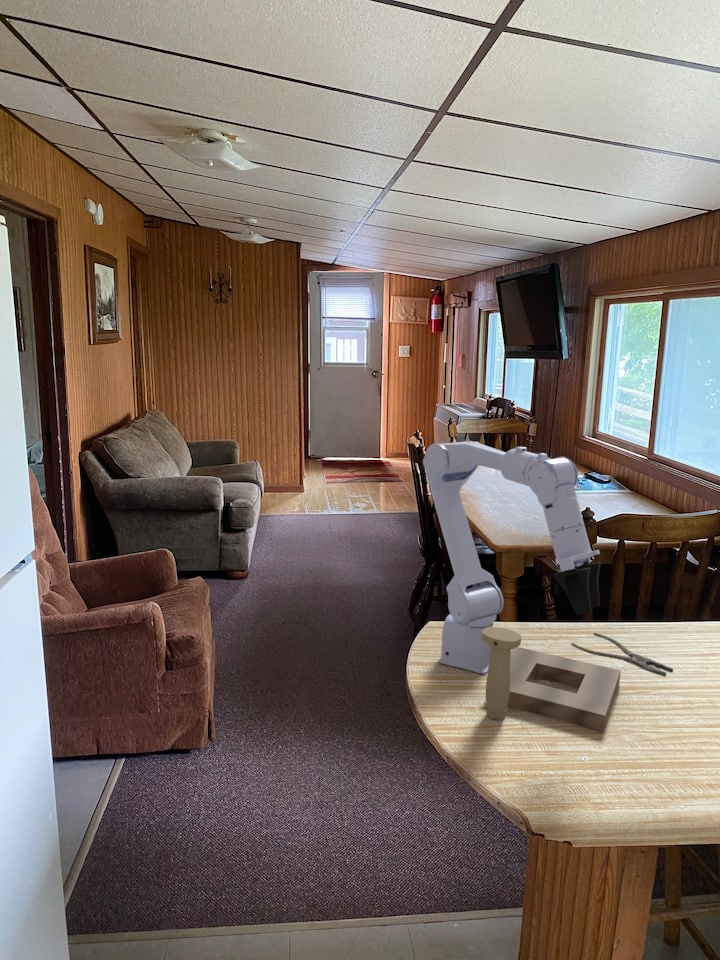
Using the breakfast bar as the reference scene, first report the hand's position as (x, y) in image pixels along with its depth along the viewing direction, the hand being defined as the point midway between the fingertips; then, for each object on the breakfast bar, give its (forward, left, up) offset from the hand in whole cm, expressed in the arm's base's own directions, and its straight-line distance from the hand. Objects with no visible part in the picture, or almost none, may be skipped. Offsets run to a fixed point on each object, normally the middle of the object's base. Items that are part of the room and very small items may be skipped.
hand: (588, 610), depth 114 cm
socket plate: (-6, +8, -20) cm, 23 cm away
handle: (-13, -5, -20) cm, 25 cm away
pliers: (+3, +32, -21) cm, 39 cm away
